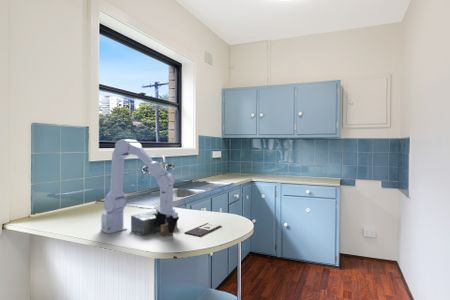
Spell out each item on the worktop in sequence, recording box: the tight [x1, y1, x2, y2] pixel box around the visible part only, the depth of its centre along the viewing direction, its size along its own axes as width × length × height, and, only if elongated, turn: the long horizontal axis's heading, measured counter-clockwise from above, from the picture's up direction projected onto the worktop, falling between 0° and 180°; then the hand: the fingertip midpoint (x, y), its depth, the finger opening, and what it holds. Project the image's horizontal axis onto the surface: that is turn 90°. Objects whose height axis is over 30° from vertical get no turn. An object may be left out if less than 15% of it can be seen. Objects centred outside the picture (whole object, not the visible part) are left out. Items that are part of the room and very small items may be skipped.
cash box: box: [130, 210, 178, 237], centre depth 136 cm, size 18×12×7 cm, turn 135°
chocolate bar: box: [184, 222, 222, 238], centre depth 134 cm, size 9×1×18 cm
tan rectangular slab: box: [160, 223, 174, 238], centre depth 127 cm, size 5×2×5 cm, turn 135°
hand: (166, 230), depth 127 cm, fingers open, 7 cm apart
